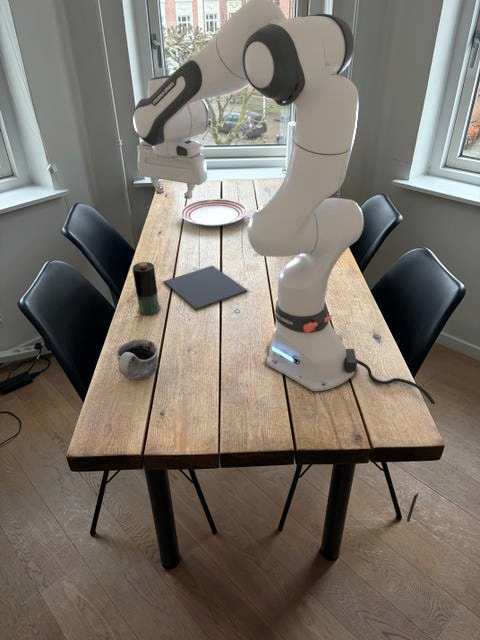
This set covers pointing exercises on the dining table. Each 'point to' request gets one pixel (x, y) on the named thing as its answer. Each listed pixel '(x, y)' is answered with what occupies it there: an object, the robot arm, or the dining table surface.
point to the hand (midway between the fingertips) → (173, 195)
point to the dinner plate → (213, 212)
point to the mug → (138, 359)
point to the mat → (204, 287)
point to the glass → (148, 305)
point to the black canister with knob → (145, 279)
